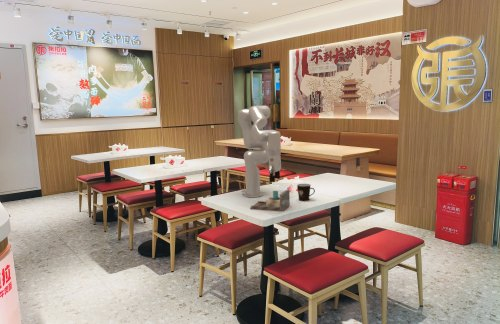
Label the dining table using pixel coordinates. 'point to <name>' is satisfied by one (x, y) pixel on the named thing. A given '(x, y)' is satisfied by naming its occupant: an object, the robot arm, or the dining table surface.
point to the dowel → (275, 195)
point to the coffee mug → (304, 191)
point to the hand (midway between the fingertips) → (274, 180)
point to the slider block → (273, 202)
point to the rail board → (283, 206)
